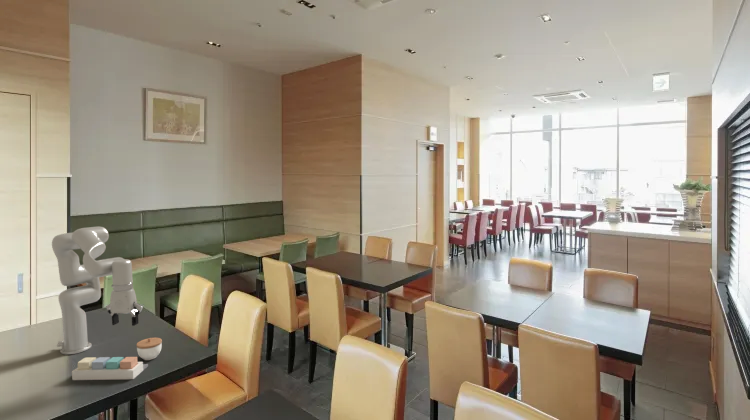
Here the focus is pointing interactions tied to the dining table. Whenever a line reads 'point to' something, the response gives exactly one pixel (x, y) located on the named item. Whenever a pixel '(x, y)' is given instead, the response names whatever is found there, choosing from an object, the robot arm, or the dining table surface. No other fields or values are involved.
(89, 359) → the key
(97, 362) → the key
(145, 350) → the lidded jar
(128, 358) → the key
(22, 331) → the dining table surface
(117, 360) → the key
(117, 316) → the robot arm
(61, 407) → the dining table surface
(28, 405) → the dining table surface
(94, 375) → the keypad
